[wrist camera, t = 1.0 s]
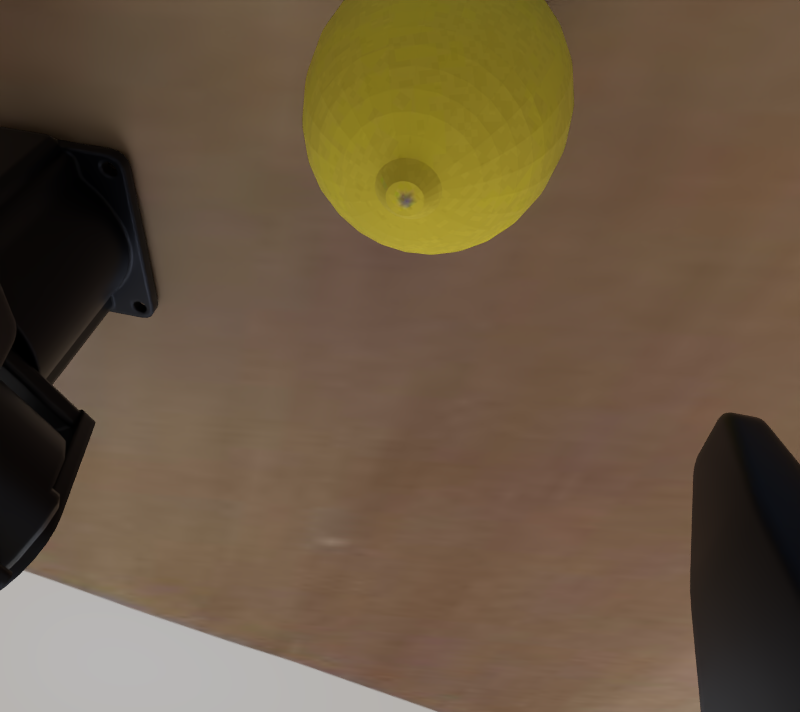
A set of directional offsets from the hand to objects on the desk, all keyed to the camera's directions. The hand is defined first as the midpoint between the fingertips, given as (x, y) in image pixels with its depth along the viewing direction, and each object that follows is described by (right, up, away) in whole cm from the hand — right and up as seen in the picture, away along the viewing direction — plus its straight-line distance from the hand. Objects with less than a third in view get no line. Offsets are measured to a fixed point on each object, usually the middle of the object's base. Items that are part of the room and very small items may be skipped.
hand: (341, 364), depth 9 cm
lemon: (+2, +8, +9) cm, 13 cm away
